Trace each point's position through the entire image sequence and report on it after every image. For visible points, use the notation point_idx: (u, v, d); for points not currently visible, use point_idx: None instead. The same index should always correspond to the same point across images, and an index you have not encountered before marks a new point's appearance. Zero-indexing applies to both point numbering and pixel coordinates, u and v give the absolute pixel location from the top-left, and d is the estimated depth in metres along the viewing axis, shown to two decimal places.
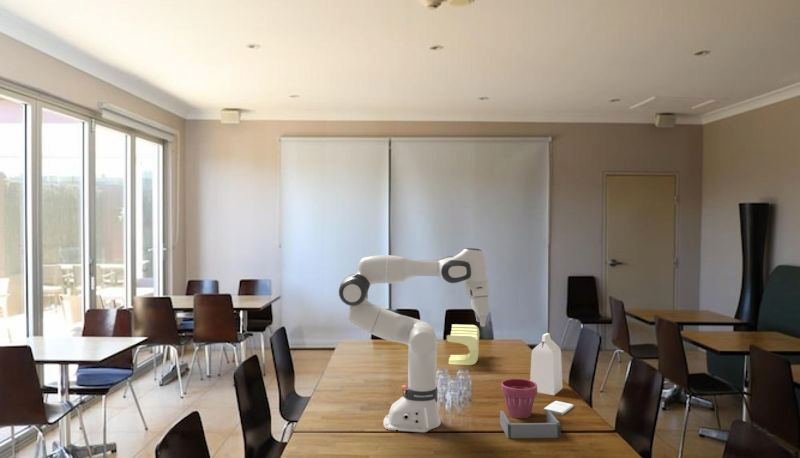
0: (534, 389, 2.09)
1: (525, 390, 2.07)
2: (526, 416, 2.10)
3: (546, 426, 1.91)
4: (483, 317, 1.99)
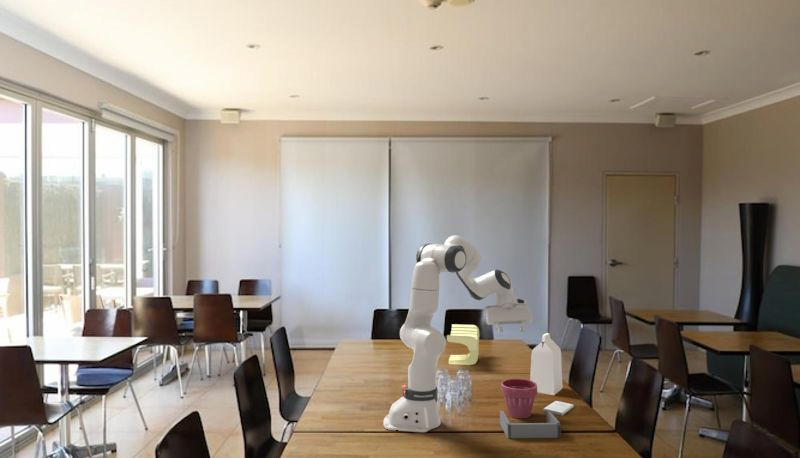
0: (534, 389, 2.09)
1: (525, 390, 2.07)
2: (526, 416, 2.10)
3: (546, 426, 1.91)
4: (524, 324, 2.31)
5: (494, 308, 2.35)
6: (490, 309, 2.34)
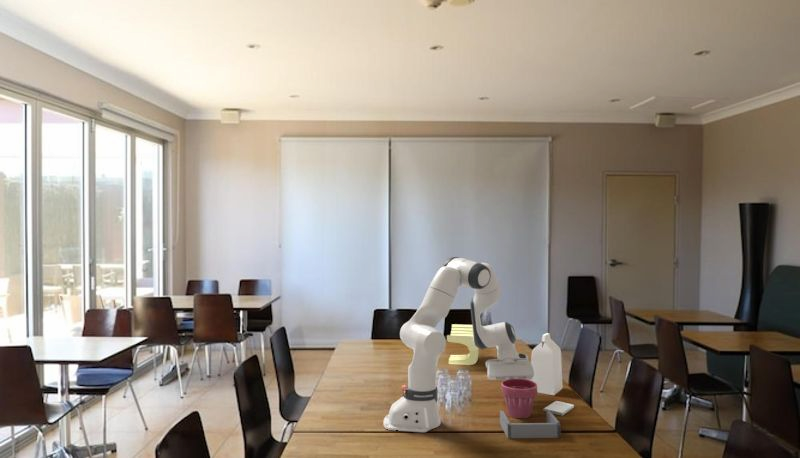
0: (534, 389, 2.09)
1: (525, 390, 2.07)
2: (526, 416, 2.10)
3: (546, 426, 1.91)
4: None
5: (495, 362, 2.32)
6: (491, 363, 2.32)
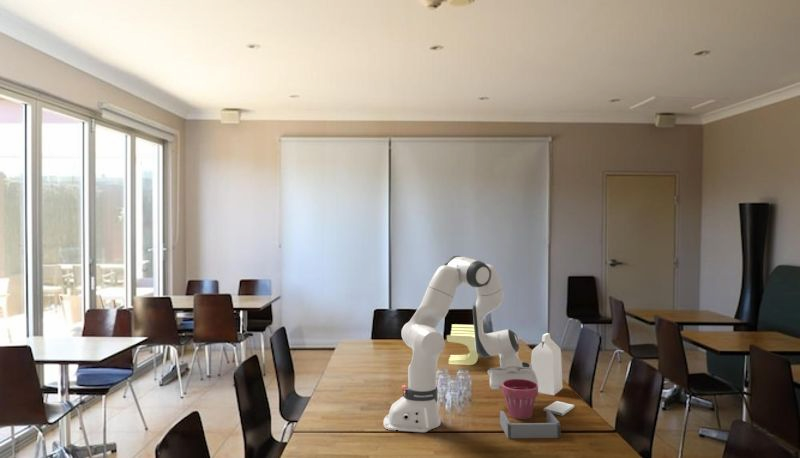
0: (535, 390, 2.08)
1: (526, 391, 2.06)
2: (527, 417, 2.09)
3: (546, 426, 1.91)
4: None
5: (498, 371, 2.25)
6: (494, 372, 2.25)
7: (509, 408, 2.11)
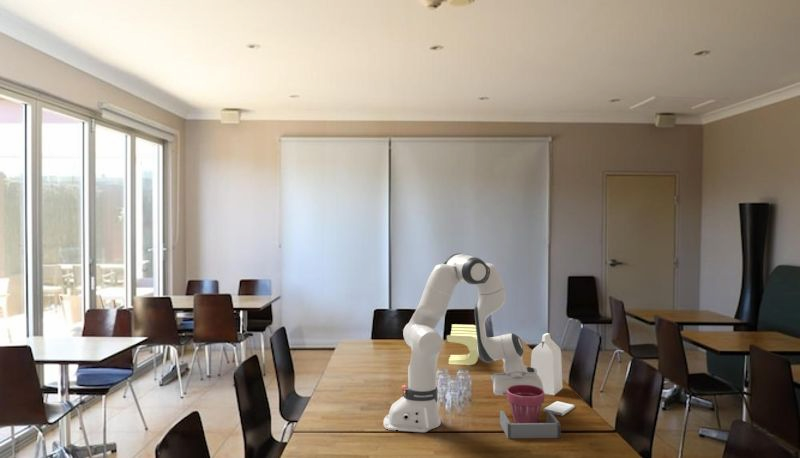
0: (542, 396, 2.00)
1: (533, 398, 1.98)
2: None
3: (546, 426, 1.91)
4: None
5: (502, 376, 2.17)
6: (498, 378, 2.17)
7: (515, 415, 2.03)
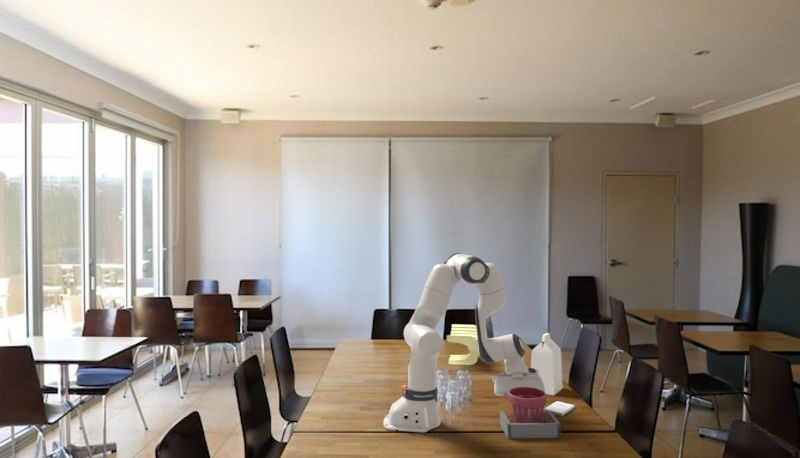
0: (544, 398, 1.98)
1: (535, 399, 1.96)
2: None
3: (546, 426, 1.91)
4: None
5: (503, 377, 2.16)
6: (499, 378, 2.15)
7: (516, 418, 2.01)
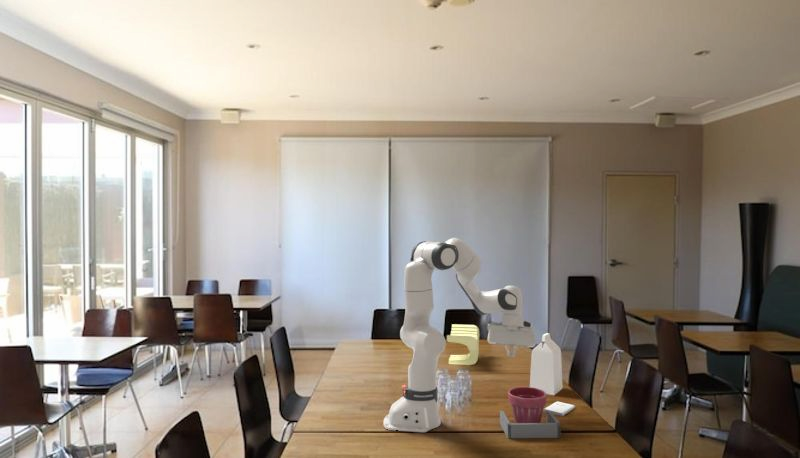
0: (544, 398, 1.98)
1: (535, 400, 1.96)
2: None
3: (546, 426, 1.91)
4: (517, 347, 2.23)
5: (498, 327, 2.24)
6: (493, 328, 2.24)
7: (516, 418, 2.01)
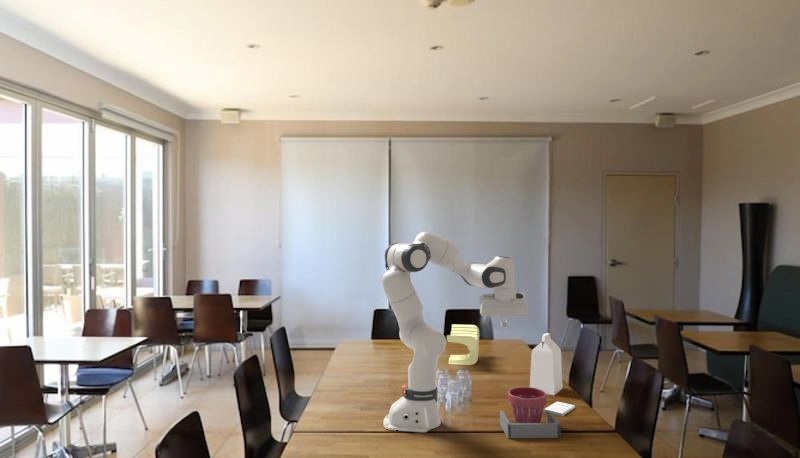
0: (544, 398, 1.98)
1: (535, 400, 1.96)
2: None
3: (546, 426, 1.91)
4: None
5: (490, 301, 2.22)
6: (486, 302, 2.22)
7: (516, 418, 2.01)
